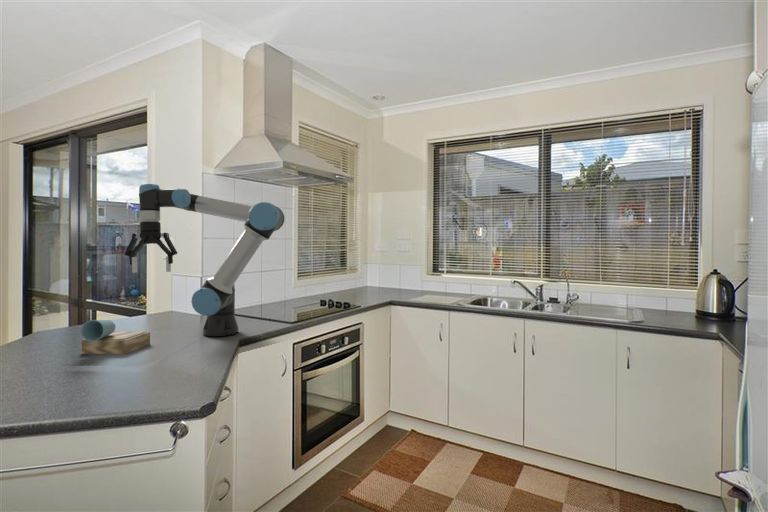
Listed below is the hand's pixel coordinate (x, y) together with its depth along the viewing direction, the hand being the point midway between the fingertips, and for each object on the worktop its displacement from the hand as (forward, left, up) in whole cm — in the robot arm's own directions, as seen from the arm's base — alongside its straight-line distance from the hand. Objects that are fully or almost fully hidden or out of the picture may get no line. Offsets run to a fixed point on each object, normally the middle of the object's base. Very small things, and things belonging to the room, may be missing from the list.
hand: (151, 272), depth 176 cm
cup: (+4, +17, -22) cm, 27 cm away
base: (+4, +16, -29) cm, 33 cm away
